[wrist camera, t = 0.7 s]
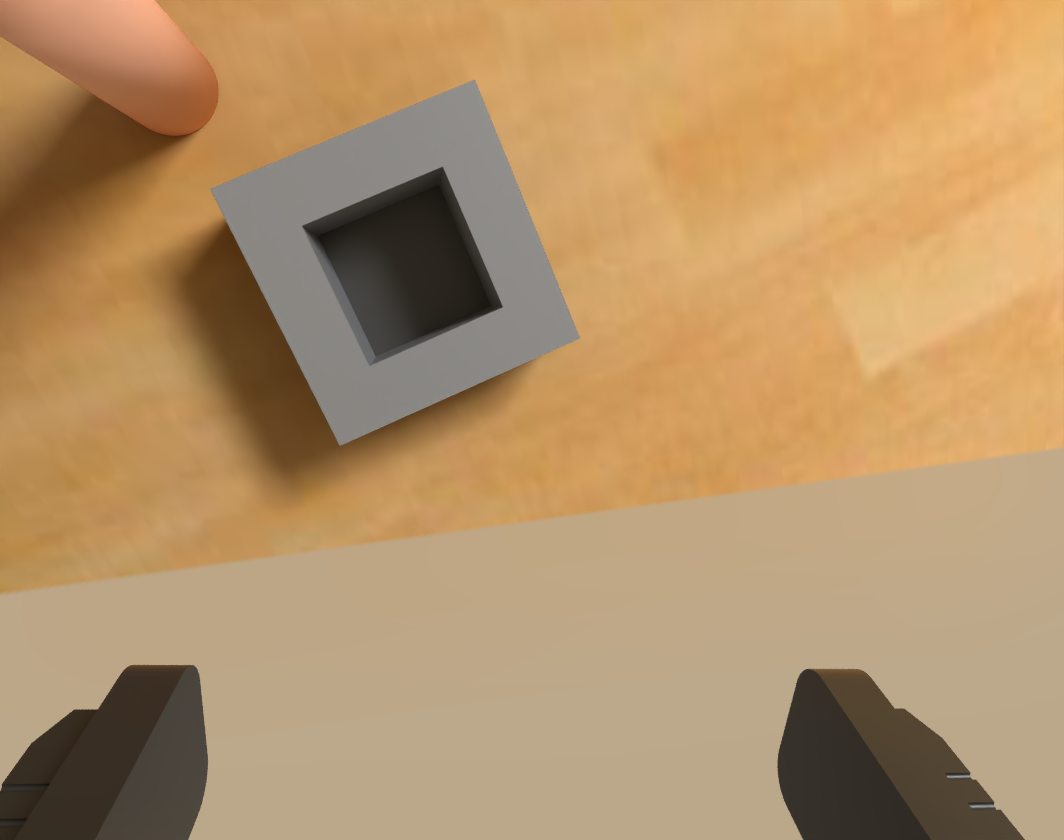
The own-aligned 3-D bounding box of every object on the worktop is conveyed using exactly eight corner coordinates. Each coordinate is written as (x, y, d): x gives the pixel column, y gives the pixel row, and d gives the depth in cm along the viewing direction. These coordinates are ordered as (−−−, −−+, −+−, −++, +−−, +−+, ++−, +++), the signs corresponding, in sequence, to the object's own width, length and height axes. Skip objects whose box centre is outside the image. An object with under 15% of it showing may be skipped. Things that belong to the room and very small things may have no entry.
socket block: (241, 205, 32) (209, 188, 27) (466, 111, 33) (474, 79, 28) (350, 424, 34) (339, 446, 30) (557, 332, 35) (580, 338, 30)
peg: (100, 57, 30) (-99, -93, 18) (190, 22, 30) (50, -147, 19) (148, 150, 31) (-13, 62, 19) (235, 115, 31) (127, 8, 20)
